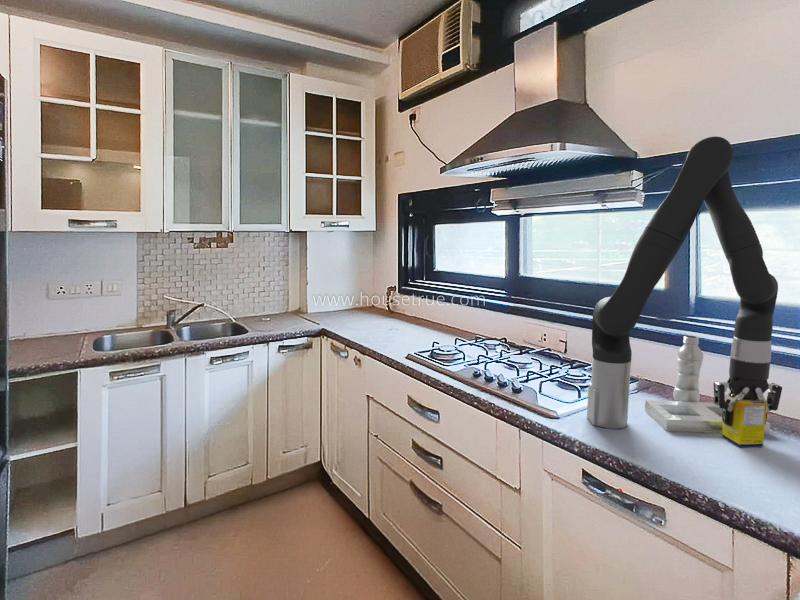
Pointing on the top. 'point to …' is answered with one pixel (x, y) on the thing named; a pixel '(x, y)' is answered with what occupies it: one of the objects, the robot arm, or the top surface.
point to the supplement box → (747, 424)
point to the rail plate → (688, 416)
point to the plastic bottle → (688, 371)
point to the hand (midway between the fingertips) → (743, 425)
